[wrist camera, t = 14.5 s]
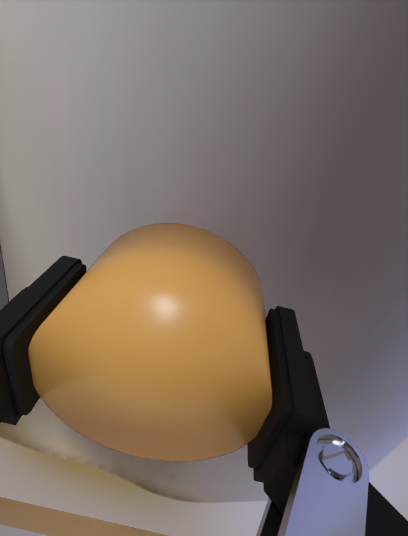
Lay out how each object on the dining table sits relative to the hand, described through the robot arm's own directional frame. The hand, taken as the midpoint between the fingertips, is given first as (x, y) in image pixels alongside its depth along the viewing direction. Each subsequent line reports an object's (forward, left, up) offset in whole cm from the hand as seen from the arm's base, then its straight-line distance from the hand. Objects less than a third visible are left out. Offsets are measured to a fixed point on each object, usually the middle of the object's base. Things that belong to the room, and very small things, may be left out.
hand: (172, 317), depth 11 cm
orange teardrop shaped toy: (0, 0, -1) cm, 1 cm away
